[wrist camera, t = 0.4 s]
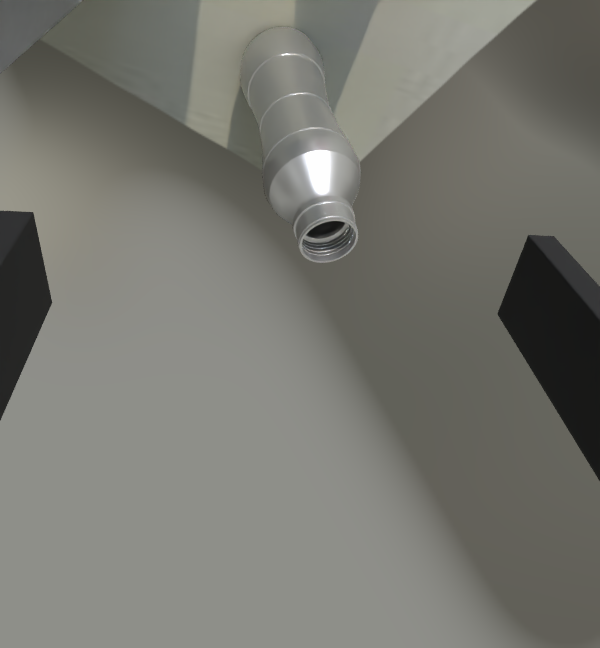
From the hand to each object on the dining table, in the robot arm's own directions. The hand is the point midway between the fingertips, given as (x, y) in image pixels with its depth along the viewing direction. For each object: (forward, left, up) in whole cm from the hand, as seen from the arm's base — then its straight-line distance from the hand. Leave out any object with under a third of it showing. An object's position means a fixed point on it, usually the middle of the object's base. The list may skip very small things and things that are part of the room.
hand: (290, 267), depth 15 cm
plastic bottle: (+12, -5, -32) cm, 35 cm away
